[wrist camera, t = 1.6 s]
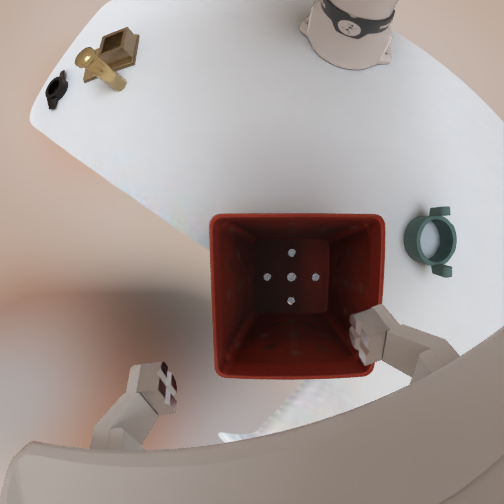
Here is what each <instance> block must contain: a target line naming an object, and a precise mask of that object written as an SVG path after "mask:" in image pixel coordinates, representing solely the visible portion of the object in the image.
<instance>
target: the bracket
mask: <svg viewBox="0 0 504 504" xmlns="http://www.w3.org/2000/svg"><path fill="white" fill-rule="evenodd" d="M445 215H450V207H436V208H431V209H430V214H429V216H422V217H416V218H414V219H413V220H412V221H411V222H410V223H409V224H408V226H407V228H406V231H405V235H404V244H405V248H406V251H407V253H408V255H409V256H410V257H411V258H412V259H413V260H415V261H417V262H420V263H424V264H427V265H431V268H432V273H433V274H436V275H439V276H442V277H452V267H450V266H447V265H443V264H445V263H446V262H448V260H449V259H450V258H451V257H452V255H453V253H454V251H455V248H456V242H457V238H456V232H455V228H454V226H453V225H452V224H451V223H450V222H449V221H448V220H447V219H446V218H445V217H443V216H445ZM429 221H433V222H434V223H435V225H436V226H437V228H438V230H439V234H440V245H439V248H438V250H437V252H436V254H435V255H434V256H433V257H432V258H430V259H429V260H428V259H427V258H426V257H425V256H424V254H423V252H422V250H421V246H420V236H421V232H422V230H423V228H424V226H425V225H426V224H427V223H428V222H429Z"/></svg>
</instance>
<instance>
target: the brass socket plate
mask: <svg viewBox="0 0 504 504" xmlns="http://www.w3.org/2000/svg"><path fill="white" fill-rule="evenodd" d="M138 42H139V35H137V34H135V35H134V34H133V33H132V32H131V30H130V29H129V28H128V27H126V28H124V29H121V30H118V31H116V32H113V33H111V34H108V35H106V36H103V37H102V41H101V45H100V48H98V49H96V50H95V52H96V54H95V55H96V56H98V57H99V58H100V59H101V60H102V61H104V62H105V63H106V64H107V65H108V66H110V67H111V68H112V69H113V70H114V71H118V70H121V69H124V68H127V67H130V66H133V65H135V61H136V54H137V48H138ZM96 78H98V77H97V76H95V75H94V74H93V73H91V72H90V71H88V70H87V69H85V74H84V78H83V80H84V83H86V82H89V81H91V80H94V79H96Z"/></svg>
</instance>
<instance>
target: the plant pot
mask: <svg viewBox="0 0 504 504" xmlns="http://www.w3.org/2000/svg"><path fill="white" fill-rule="evenodd" d="M209 237H210V268H211V293H212V294H211V295H212V321H213V343H214V363H215V364H214V365H215V371H216V373H217V374H218V375H219V376H221V377H224V378H240V379H282V380H285V379H286V380H287V379H288V380H289V379H290V380H291V379H292V380H293V379H331V378H350V377H362V376H367V375H368V374H370V373H371V372H372V370H373V368H374V364H375V362H374V363H372V364H369V365H366V366H365V365H364V363H363V362H362V360H361V358H360V357H359V350H357V349H355V348H354V346H353V345H352V342H351V340H350V335H349V329H350V327H351V326H352V325H351V323H350V315H351V314H354V313H357V312H360V311H363V310H365V309H368V308H371V307H374V306H376V305H379V304H382V296H383V282H384V263H385V222H384V220H383V218H382V217H381V216H379V215H376V214H326V213H269V214H258V213H248V214H217V215H215V216H214V217H213V218H212V219H211V221H210V225H209ZM289 249H295V250H296V254H295V256H294V257H290V256H289V255H288V250H289ZM291 272H292V273H295V274H296V277H297V278H296V280H295V281H294V282H290V281H288V280H287V275H288V274H289V273H291ZM266 273H269V274H270V275H271V280H269V281H265V280H264V278H263V276H264V274H266ZM314 273H318V274H319V275H320V279H319V280H318V281H313V280H312V275H313V274H314ZM289 297H294V298H295V303H294V304H292V305H290V304H288V302H287V299H288V298H289Z"/></svg>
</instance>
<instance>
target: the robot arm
mask: <svg viewBox="0 0 504 504" xmlns="http://www.w3.org/2000/svg"><path fill="white" fill-rule="evenodd" d="M397 2H398V0H318V1H315V2H314V5H313V6H312V8H311V12H310V15H309V16H308V17H307V18H306V19H305V20H304V21H303V22H302V23H301V25H300V31H301V32H302V33H303V34H304V35H306V36H307V37H308V39H309V41H310V43H311V45H312V47H313V49H314V50H315V51H316V53H317V54H318V55H319V56H321V57H322V58H323V59H325V60H326V61H328V62H329V63H331V64H333V65H336V66H338V67H342V68H346V69H352V70H361V69H366V68H369V67H371V66H373V65H376V64H388V63H390V61H391V43H390V42H391V40H392V35H391V28H390V24H391V22H392V20H393V17H394V12H395V10H394V8H395V6H396V4H397ZM307 24H308V25H307ZM350 323H351V325H352V326H351V327H350V329H349V335H350V340H351V342H352V345H353V346H354V348H355V349H357V350H359V357H360V358H361V360H362V362H363V363H364V365H365V366H366V365H369V364H372V363H374V362H377V361H379V360H382V361H384V362H386V363H388V364H389V365H391V366H393V367H394V368H396V369H398V370H400V371H402V372H403V373H405V374H407V375H409V376H411V377H412V380H411V382H410V385H408V386H406V387H404V388H401V389H399V390H397V391H395V392H393V393H391V394H389V395H386V396H384V397H382V398H379V399H377V400H375V401H373V402H370V403H367V404H365V405H363V406H360V407H357V408H355V409H352V410H350V411H347V412H344V413H341V414H338V415H336V416H333V417H330V418H327V419H324V420H321V421H317V422H314V423H311V424H307V425H304V426H301V427H297V428H293V429H290V430H286V431H282V432H278V433H274V434H269V435H265V436H260V437H256V438H251V439H246V440H240V441H235V442H229V443H223V444H215V445H208V446H200V447H191V448H179V449H164V450H146V449H145V448H144V447H143V446H141V445H142V444H143V441H144V440H145V438H146V437H147V435H148V434H149V432H150V430H151V429H152V427H153V425H154V424H155V422H156V420H157V419H158V417H159V416H158V415H166V414H173V413H176V400H175V398H174V396H175V395H176V393H177V386H176V381H175V379H174V376H173V375H172V374H171V373H170V372H168V371H167V369H168V367H167V365H166V364H165V362H157V363H150V364H142V365H136V366H132V367H131V370H130V374H129V380H128V385H127V390H126V394H123V395H122V396H121V397H120V398H119V399H118V400H117V402H116V403H115V404H114V405H113V406H112V407H111V408H110V409H109V411H108V412H107V413H106V414H105V415H104V416H103V417H102V419H101V420H100V421H99V422H98V423H97V424H96V425H95V426H94V430H93V435H92V440H91V445H90V449H87V448H77V447H68V446H60V445H53V444H47V443H42V442H36V441H35V442H34V441H33V442H30V443H28V444H27V445H26V446H25V447H24V448H22V450H20V451H19V452H18V453H17V454H16V455H15V456H14V457H13V459H12V460H11V462H10V464H9V467H8V469H7V473H6V476H5V480H4V483H3V487H2V492H1V496H0V504H504V326H503V327H502V328H500V329H499V330H498V331H496V332H495V333H494V334H492V335H491V336H490V337H488V338H487V339H485V340H484V341H483V342H481V343H480V344H478V345H477V346H475V347H474V348H472V349H471V350H469V351H468V352H466V353H465V354H463V355H461V356H459V355H458V353H457V352H456V351H455V350H454V349H453V347H452V346H451V345H450V344H449V343H448V342H447V341H446V339H443V338H440V337H437V336H434V335H431V334H429V333H426V332H423V331H420V330H417V329H414V328H412V327H409V326H406V325H399V323H398V322H397V321H396V320H395V319H394V317H393V316H392V315H391V314H390V313H389V311H388V310H387V309H386V308H385V307H384V305H382V304H379V305H376V306H374V307H371V308H368V309H365V310H363V311H360V312H357V313H354V314H351V315H350Z"/></svg>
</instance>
